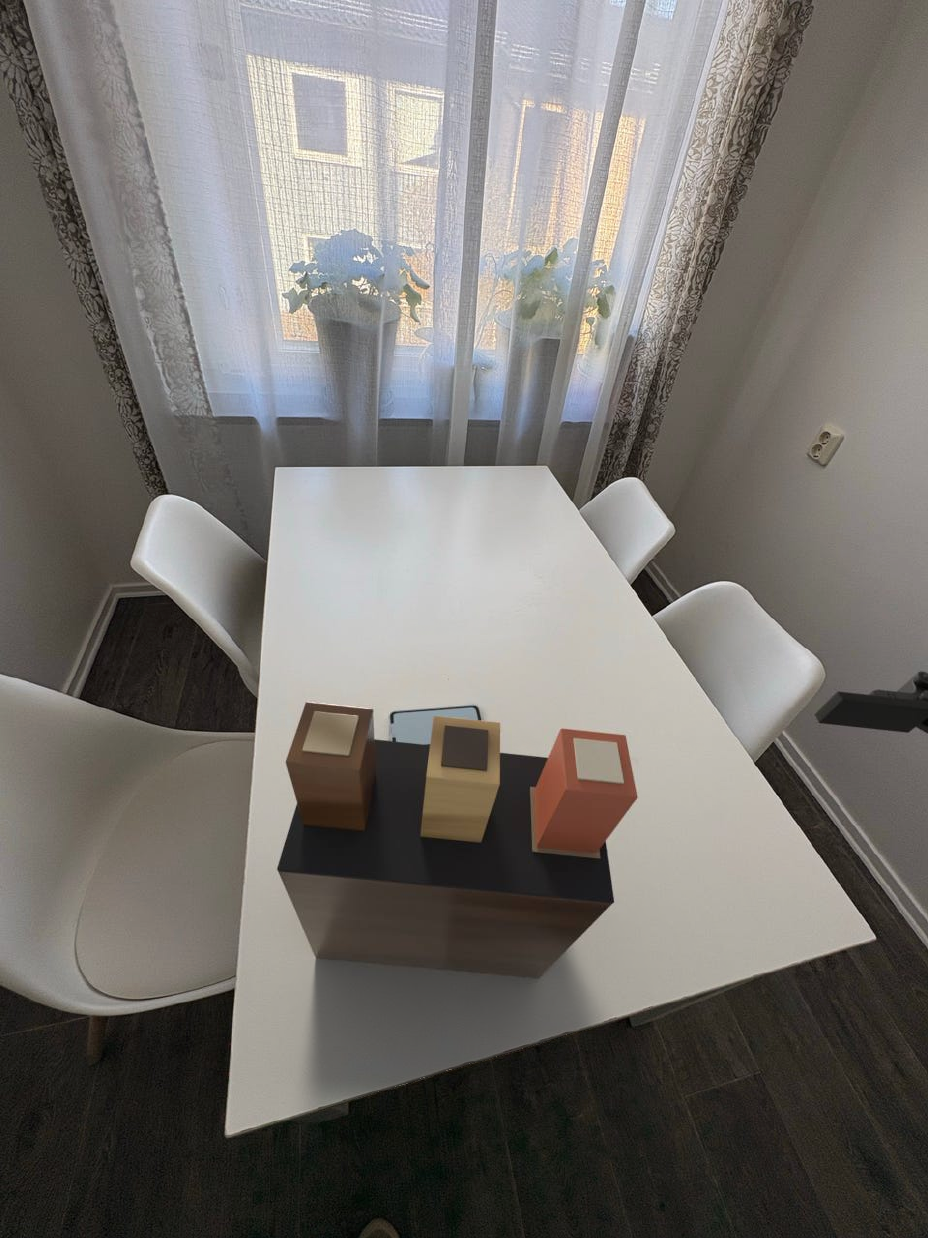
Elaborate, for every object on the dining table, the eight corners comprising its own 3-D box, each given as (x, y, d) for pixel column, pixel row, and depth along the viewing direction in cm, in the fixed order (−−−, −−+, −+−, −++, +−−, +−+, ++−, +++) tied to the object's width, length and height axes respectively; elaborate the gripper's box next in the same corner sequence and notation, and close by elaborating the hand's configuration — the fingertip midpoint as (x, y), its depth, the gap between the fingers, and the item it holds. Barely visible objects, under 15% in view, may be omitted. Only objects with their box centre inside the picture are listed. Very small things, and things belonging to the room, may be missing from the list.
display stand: (539, 979, 59) (612, 904, 40) (315, 958, 59) (277, 871, 39) (535, 870, 68) (594, 764, 48) (339, 851, 67) (318, 735, 48)
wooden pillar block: (481, 843, 42) (500, 783, 34) (420, 836, 42) (426, 775, 34) (483, 785, 45) (500, 720, 38) (426, 779, 45) (433, 713, 38)
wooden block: (364, 831, 41) (359, 768, 34) (302, 825, 41) (284, 760, 34) (376, 774, 45) (373, 707, 38) (319, 768, 45) (305, 699, 38)
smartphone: (488, 742, 80) (391, 751, 77) (487, 745, 81) (391, 754, 78) (478, 703, 85) (388, 710, 82) (478, 707, 86) (388, 714, 83)
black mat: (612, 904, 40) (615, 902, 39) (277, 871, 39) (276, 868, 39) (594, 764, 48) (595, 761, 48) (318, 735, 48) (317, 732, 47)
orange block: (596, 853, 42) (639, 796, 35) (536, 847, 42) (566, 789, 35) (589, 796, 45) (626, 733, 38) (533, 790, 45) (561, 726, 38)
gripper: (1383, 1124, 25) (964, 1090, 24) (1016, 704, 43) (769, 677, 42) (1650, 1123, 20) (1125, 1078, 19) (1105, 644, 37) (823, 611, 37)
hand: (879, 801), depth 30 cm, fingers open, 13 cm apart
